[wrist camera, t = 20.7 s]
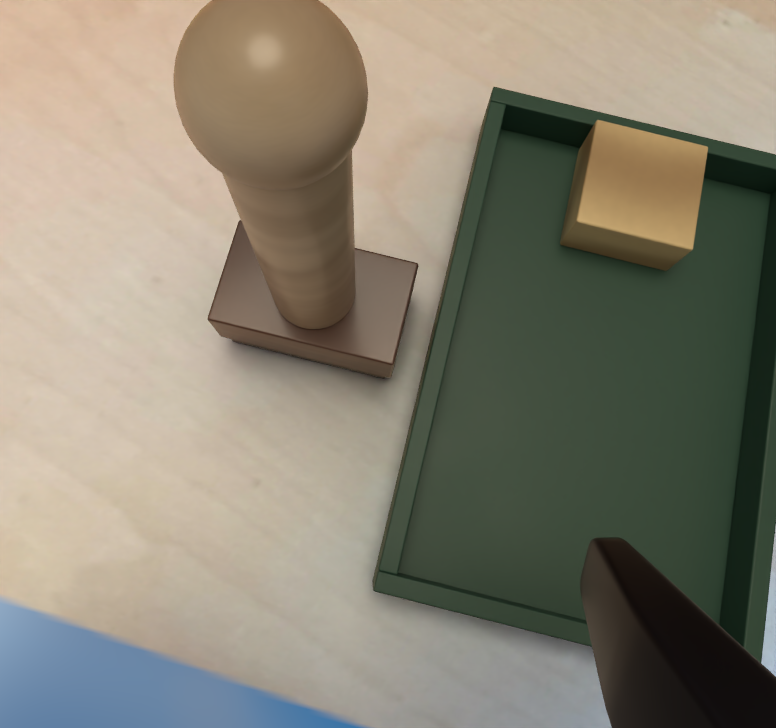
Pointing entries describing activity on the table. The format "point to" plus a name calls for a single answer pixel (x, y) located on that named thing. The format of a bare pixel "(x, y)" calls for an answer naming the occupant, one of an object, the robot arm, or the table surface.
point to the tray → (591, 395)
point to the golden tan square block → (635, 196)
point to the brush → (290, 182)
